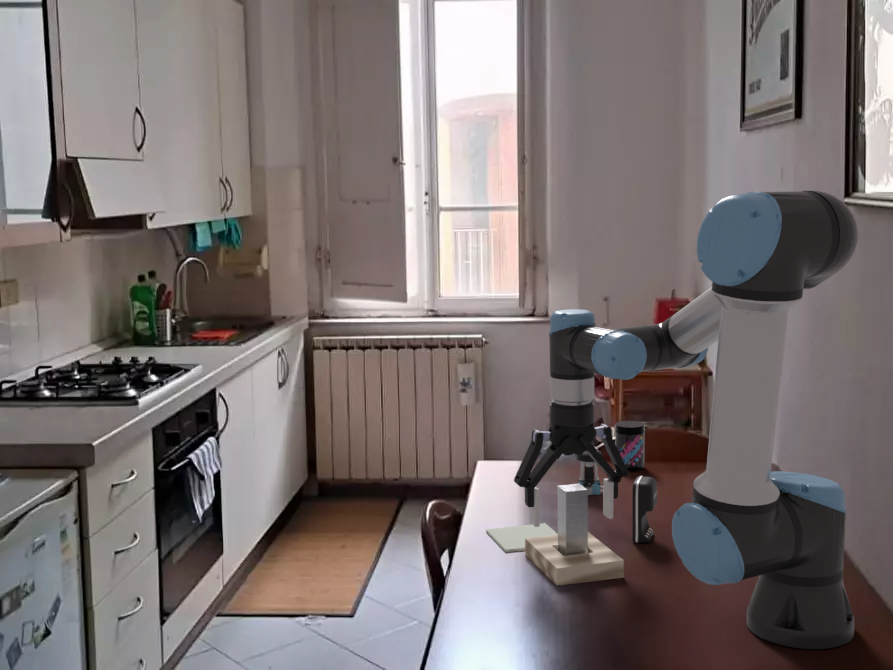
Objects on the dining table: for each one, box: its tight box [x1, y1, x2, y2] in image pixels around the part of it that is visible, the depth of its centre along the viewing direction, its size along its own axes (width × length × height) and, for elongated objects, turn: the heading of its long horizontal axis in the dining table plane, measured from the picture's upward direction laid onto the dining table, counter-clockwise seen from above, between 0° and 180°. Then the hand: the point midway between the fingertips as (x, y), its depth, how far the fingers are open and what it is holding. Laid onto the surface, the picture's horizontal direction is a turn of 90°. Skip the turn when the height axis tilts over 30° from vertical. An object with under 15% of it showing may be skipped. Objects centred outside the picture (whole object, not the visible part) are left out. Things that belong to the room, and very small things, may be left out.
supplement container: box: [614, 420, 646, 472], centre depth 248 cm, size 7×7×10 cm
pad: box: [485, 522, 558, 553], centre depth 202 cm, size 12×12×1 cm
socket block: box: [524, 531, 625, 586], centre depth 187 cm, size 16×12×3 cm
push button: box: [576, 445, 603, 496], centre depth 229 cm, size 7×5×10 cm
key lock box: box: [631, 475, 658, 544], centre depth 200 cm, size 7×4×11 cm, turn 161°
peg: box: [556, 483, 589, 556], centre depth 186 cm, size 4×4×14 cm
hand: (571, 520), depth 186 cm, fingers open, 13 cm apart
